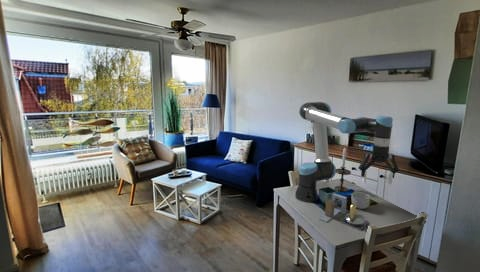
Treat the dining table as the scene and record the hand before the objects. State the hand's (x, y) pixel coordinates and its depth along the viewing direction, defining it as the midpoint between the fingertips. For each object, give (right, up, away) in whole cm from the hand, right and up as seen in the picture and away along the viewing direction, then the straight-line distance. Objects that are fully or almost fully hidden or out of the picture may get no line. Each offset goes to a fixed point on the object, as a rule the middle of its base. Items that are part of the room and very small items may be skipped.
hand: (376, 182), depth 138 cm
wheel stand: (-11, -22, +2) cm, 25 cm away
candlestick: (0, -14, +47) cm, 49 cm away
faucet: (-11, -21, +2) cm, 24 cm away
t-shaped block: (-20, -21, +11) cm, 31 cm away
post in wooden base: (-18, -19, +13) cm, 30 cm away
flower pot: (-18, -18, +26) cm, 36 cm away
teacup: (+1, -19, +22) cm, 29 cm away
